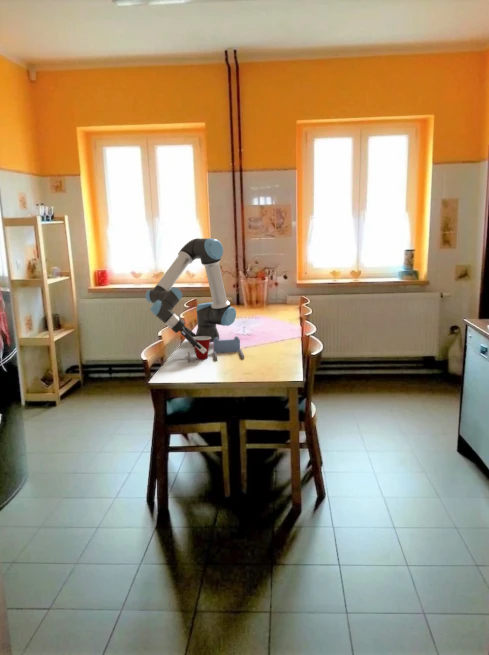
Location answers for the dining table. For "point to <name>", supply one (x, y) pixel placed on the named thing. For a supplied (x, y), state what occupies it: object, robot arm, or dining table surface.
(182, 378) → the dining table surface
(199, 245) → the robot arm
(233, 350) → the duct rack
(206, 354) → the plastic cup
